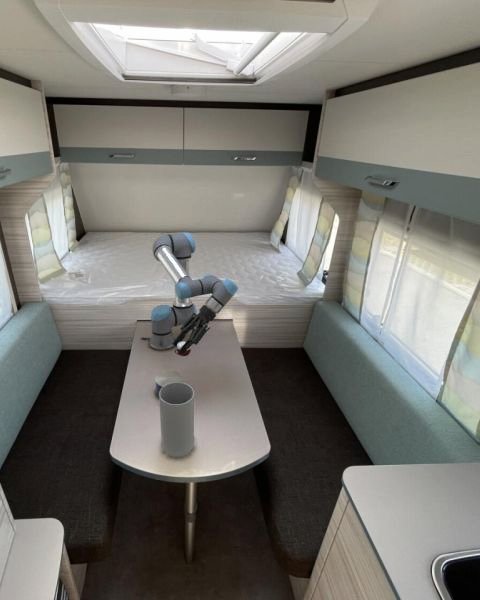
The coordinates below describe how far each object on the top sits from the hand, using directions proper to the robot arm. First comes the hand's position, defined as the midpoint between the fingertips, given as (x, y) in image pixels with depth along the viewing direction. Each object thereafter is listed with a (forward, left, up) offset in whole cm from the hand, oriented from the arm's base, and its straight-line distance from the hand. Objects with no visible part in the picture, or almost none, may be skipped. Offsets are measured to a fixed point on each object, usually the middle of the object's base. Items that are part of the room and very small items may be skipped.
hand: (177, 349), depth 145 cm
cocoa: (+1, +3, -4) cm, 5 cm away
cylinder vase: (+23, -21, -24) cm, 39 cm away
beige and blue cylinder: (-3, -3, -24) cm, 25 cm away
